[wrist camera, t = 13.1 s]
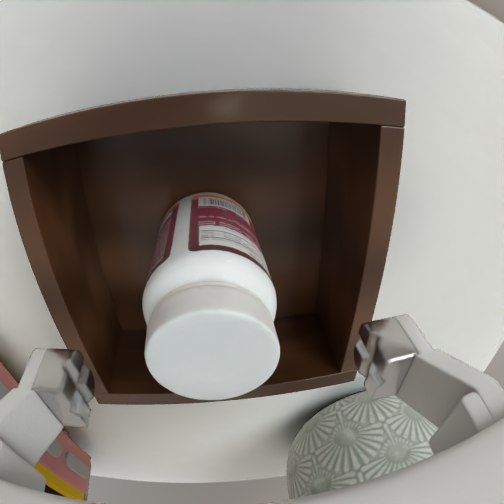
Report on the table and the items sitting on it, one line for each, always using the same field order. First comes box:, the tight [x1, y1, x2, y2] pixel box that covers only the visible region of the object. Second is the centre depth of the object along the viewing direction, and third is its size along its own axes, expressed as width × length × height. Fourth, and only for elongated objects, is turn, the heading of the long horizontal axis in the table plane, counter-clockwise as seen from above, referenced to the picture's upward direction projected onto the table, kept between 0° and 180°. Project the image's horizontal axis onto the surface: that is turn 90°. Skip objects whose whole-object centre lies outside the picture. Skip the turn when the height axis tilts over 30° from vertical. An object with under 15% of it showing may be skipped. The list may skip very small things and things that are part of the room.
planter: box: [287, 391, 438, 499], centre depth 22 cm, size 17×17×15 cm
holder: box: [0, 89, 406, 405], centre depth 14 cm, size 14×14×6 cm
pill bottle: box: [142, 192, 280, 400], centre depth 13 cm, size 5×5×8 cm
